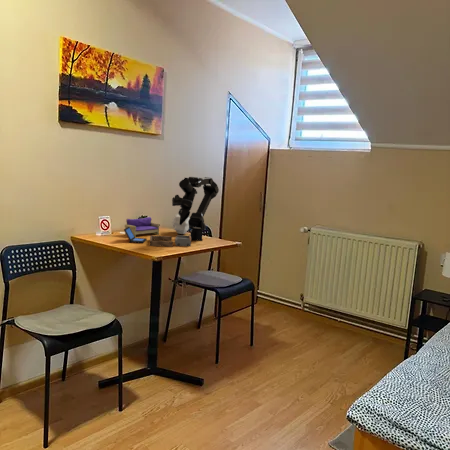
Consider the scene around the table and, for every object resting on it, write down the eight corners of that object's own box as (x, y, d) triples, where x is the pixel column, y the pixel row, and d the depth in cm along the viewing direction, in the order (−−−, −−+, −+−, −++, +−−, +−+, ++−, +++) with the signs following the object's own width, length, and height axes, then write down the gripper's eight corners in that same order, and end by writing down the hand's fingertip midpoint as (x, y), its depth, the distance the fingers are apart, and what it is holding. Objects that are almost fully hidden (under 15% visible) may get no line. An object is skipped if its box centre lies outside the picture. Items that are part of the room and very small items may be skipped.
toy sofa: (133, 237, 264) (134, 220, 263) (123, 235, 269) (124, 218, 268) (159, 234, 281) (160, 218, 280) (149, 232, 286) (150, 216, 285)
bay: (171, 240, 262) (171, 236, 262) (172, 246, 244) (172, 242, 244) (150, 239, 260) (150, 235, 260) (149, 245, 243) (149, 241, 242)
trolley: (189, 242, 261) (189, 234, 260) (190, 246, 249) (191, 237, 248) (175, 242, 259) (175, 233, 259) (175, 246, 247) (176, 237, 247)
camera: (190, 232, 299) (192, 207, 297) (187, 236, 281) (188, 210, 279) (174, 230, 299) (175, 206, 297) (169, 235, 281) (170, 209, 279)
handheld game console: (142, 244, 247) (143, 230, 246) (122, 242, 247) (123, 229, 246) (147, 240, 259) (147, 227, 258) (128, 239, 259) (128, 226, 258)
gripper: (174, 198, 265) (166, 223, 259) (176, 185, 248) (167, 211, 242) (192, 204, 266) (184, 228, 260) (196, 192, 248) (187, 217, 243)
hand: (181, 221), depth 251 cm, fingers open, 9 cm apart
